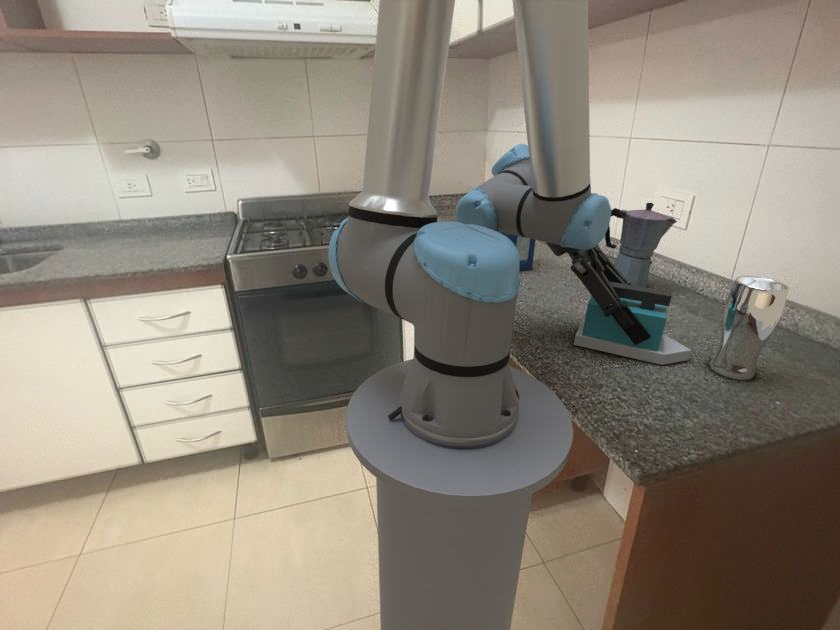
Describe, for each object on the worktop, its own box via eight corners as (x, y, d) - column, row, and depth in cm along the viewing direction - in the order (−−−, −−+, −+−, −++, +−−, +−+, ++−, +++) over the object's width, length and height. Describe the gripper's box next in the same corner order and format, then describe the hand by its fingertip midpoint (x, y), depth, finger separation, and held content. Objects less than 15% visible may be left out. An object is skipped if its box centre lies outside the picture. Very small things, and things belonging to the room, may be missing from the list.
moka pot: (663, 295, 102) (686, 208, 94) (593, 288, 106) (609, 203, 97) (655, 282, 110) (676, 201, 102) (590, 275, 114) (605, 196, 106)
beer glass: (696, 361, 74) (722, 276, 67) (730, 357, 75) (760, 274, 69) (730, 384, 67) (763, 292, 61) (768, 379, 69) (804, 289, 63)
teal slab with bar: (573, 345, 78) (584, 286, 73) (581, 327, 84) (591, 273, 80) (689, 371, 71) (708, 308, 66) (687, 350, 77) (705, 291, 72)
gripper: (569, 223, 65) (664, 345, 65) (589, 203, 81) (665, 300, 81) (529, 252, 70) (618, 367, 70) (556, 228, 86) (628, 320, 86)
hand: (644, 331), depth 75 cm, fingers closed on teal slab with bar, 7 cm apart
